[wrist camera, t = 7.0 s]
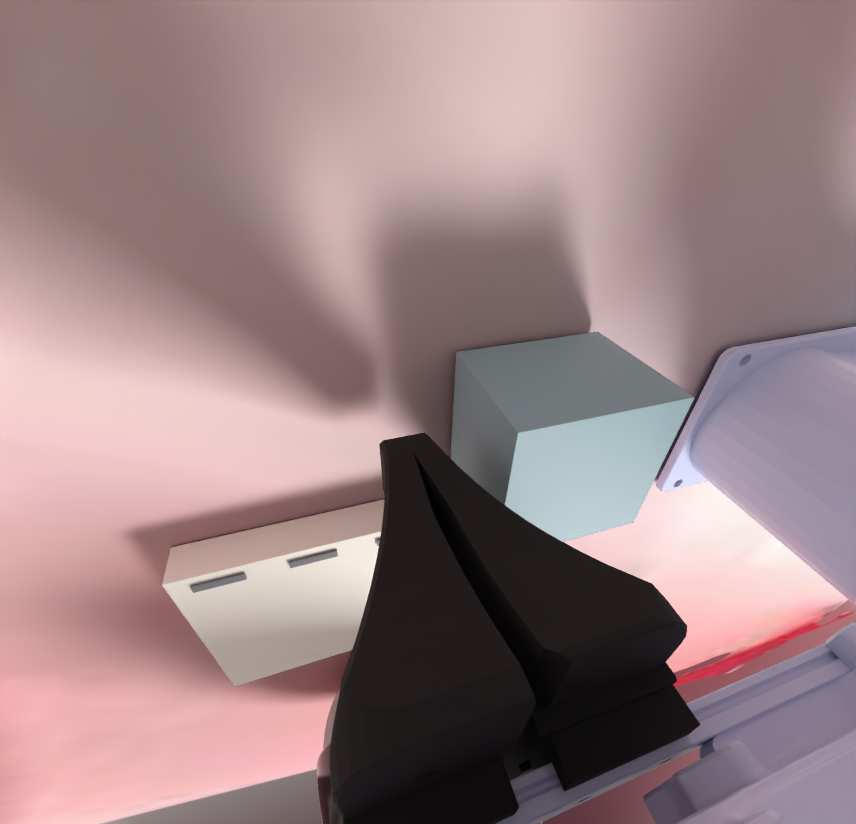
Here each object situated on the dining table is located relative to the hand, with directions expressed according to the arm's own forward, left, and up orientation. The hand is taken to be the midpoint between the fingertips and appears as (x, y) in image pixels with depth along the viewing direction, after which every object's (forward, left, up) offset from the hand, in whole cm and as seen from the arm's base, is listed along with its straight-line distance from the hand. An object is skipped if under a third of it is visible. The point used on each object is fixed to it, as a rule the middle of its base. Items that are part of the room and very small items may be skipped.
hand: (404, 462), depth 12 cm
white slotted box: (0, +8, -2) cm, 8 cm away
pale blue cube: (-5, 0, -2) cm, 5 cm away
